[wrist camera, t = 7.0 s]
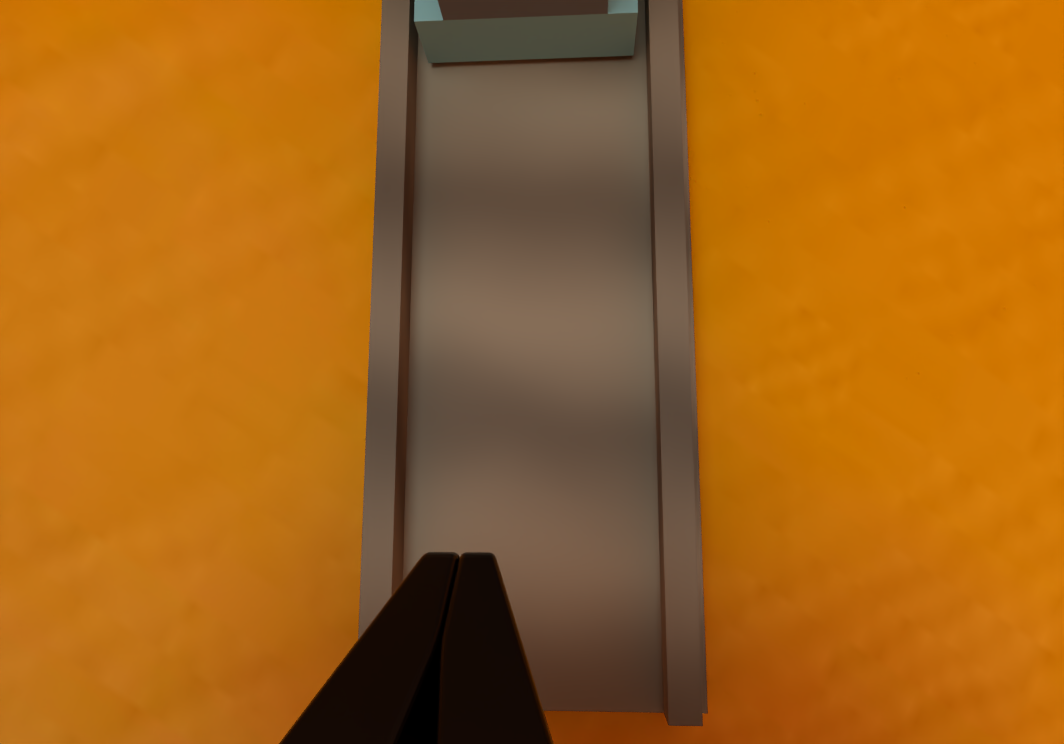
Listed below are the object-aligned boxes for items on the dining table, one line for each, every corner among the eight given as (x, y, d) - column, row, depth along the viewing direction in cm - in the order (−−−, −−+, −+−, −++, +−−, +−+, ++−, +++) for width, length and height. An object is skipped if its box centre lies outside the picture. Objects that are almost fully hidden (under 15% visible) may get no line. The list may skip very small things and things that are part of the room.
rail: (698, 699, 21) (748, 780, 15) (372, 693, 22) (284, 769, 15) (670, -137, 26) (698, -350, 19) (400, -123, 26) (341, -325, 20)
